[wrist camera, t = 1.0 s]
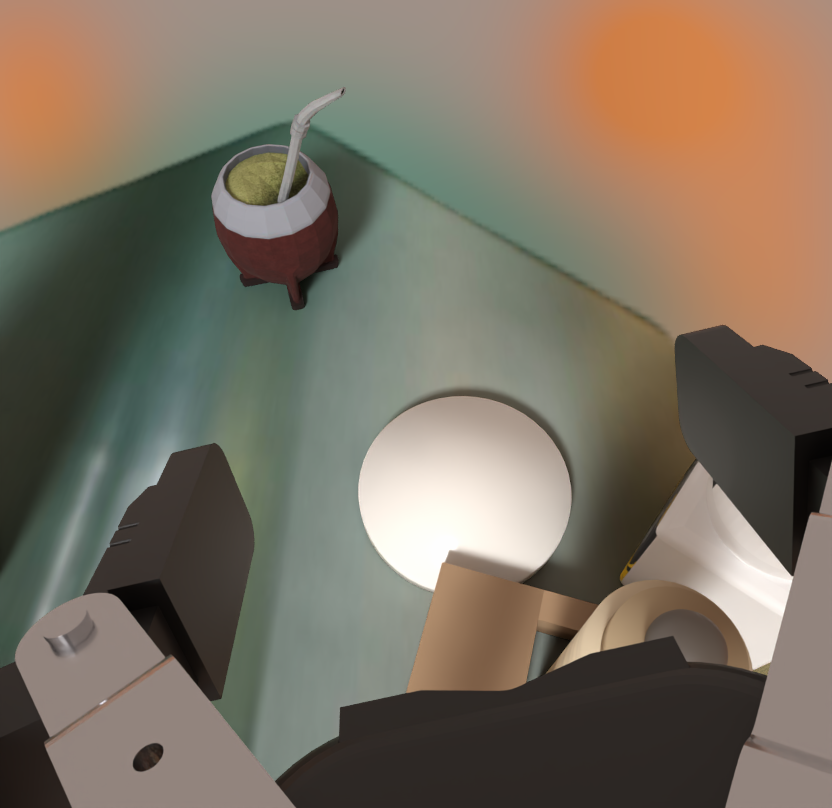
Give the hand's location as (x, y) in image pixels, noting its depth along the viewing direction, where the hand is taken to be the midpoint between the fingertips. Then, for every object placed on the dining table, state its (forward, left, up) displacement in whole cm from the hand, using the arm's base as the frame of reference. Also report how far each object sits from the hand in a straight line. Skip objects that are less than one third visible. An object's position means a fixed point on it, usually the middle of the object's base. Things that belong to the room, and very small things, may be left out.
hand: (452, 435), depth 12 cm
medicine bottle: (+12, +9, -24) cm, 28 cm away
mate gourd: (-15, +21, -24) cm, 36 cm away
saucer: (-1, +9, -24) cm, 26 cm away
